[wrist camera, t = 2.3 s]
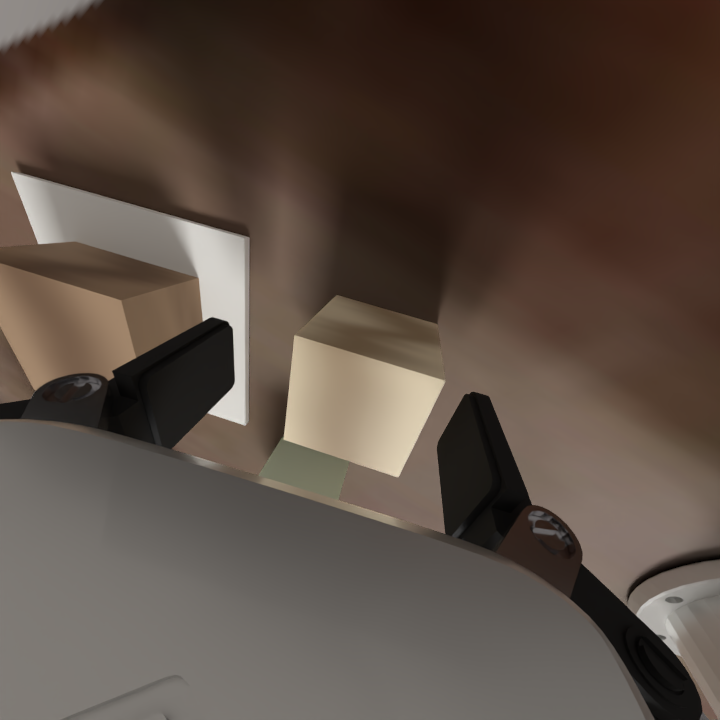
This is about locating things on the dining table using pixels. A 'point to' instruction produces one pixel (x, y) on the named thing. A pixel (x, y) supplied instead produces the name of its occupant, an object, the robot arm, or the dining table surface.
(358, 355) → the maple block
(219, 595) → the robot arm
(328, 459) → the sage block
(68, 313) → the walnut base brick
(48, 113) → the dining table surface
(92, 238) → the white mat
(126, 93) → the dining table surface
